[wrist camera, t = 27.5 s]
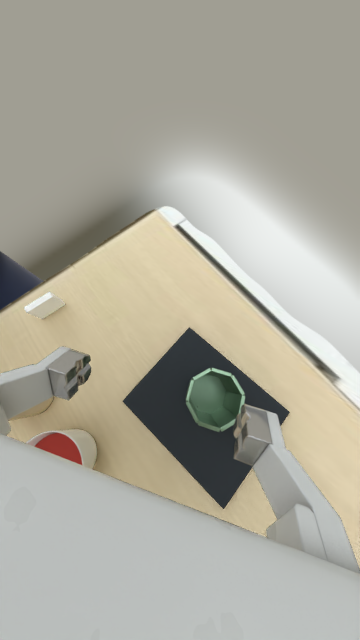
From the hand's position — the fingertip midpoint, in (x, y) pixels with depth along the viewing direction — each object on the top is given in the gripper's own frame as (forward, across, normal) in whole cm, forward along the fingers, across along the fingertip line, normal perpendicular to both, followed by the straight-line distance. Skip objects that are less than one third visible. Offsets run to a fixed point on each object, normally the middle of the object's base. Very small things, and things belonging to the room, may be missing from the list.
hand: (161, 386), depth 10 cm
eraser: (+20, -26, -12) cm, 35 cm away
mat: (+14, +5, -18) cm, 23 cm away
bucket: (+14, +5, -10) cm, 18 cm away
